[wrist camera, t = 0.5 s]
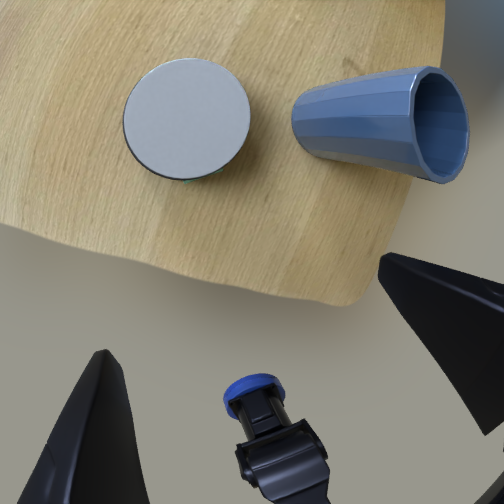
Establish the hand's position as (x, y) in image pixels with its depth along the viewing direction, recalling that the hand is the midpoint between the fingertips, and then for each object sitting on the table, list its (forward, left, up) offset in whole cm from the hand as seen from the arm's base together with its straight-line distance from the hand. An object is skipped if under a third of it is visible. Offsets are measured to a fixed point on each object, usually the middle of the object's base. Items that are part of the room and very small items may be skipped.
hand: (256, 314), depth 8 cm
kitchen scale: (+6, -1, -16) cm, 17 cm away
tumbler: (+3, -13, -16) cm, 21 cm away
